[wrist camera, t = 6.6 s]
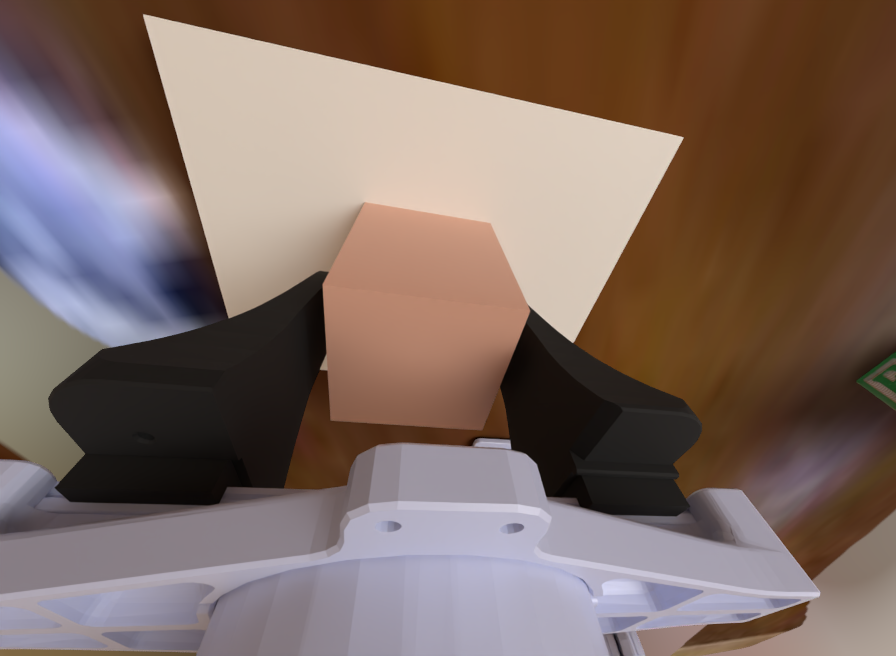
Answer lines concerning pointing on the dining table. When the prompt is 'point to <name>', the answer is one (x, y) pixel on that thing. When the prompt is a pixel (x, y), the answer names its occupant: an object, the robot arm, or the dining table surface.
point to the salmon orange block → (419, 320)
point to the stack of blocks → (882, 381)
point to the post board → (393, 167)
